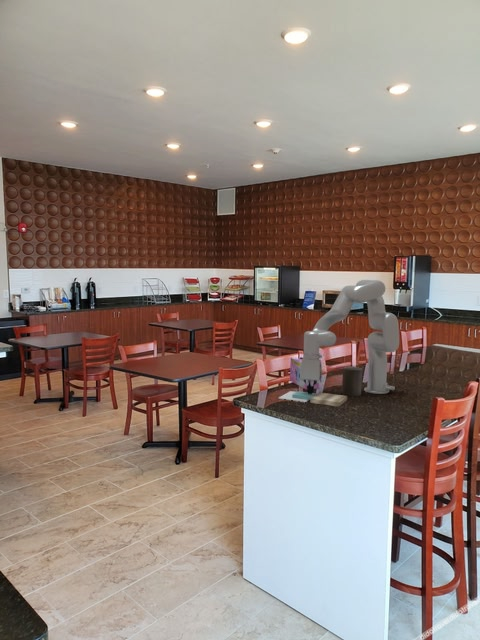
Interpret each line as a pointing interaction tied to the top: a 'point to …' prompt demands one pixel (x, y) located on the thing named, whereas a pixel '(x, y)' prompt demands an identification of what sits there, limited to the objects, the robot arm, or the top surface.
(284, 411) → the top surface
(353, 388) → the dark brown cylinder
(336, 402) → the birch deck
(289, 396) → the grey mat
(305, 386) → the pink purple printed box
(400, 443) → the top surface
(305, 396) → the teal card
